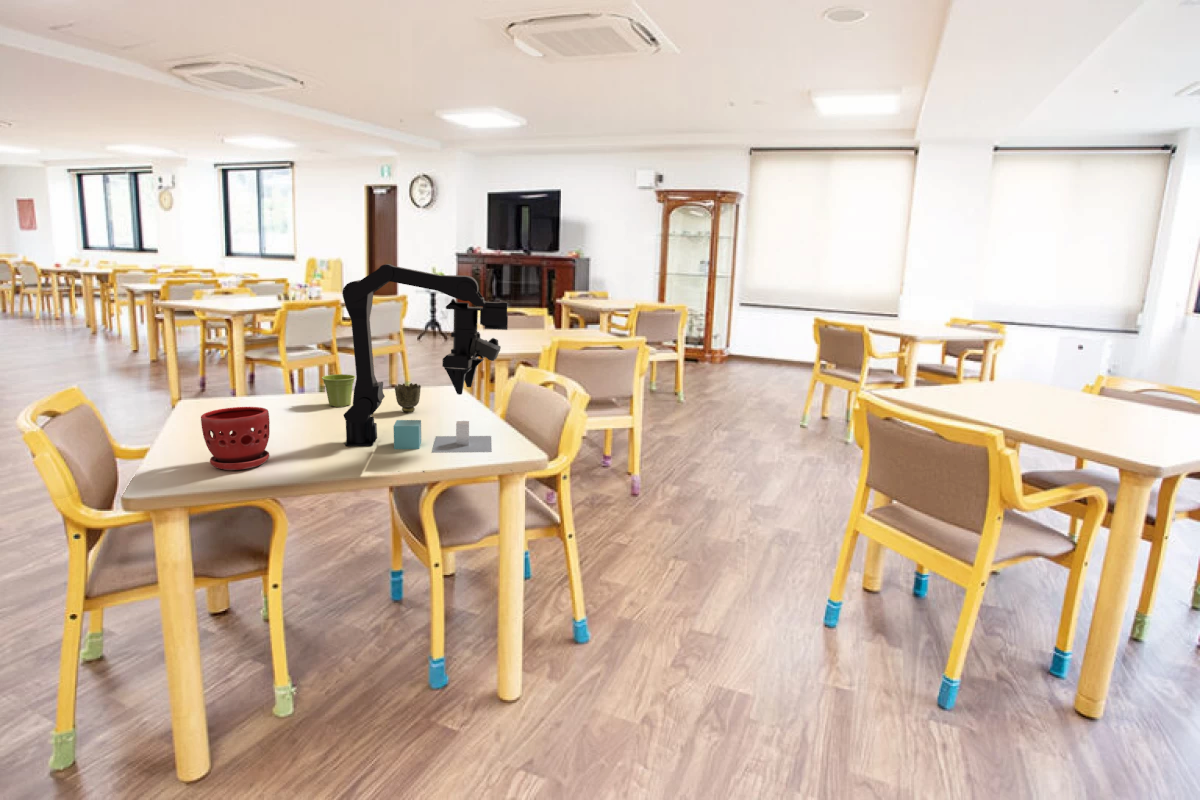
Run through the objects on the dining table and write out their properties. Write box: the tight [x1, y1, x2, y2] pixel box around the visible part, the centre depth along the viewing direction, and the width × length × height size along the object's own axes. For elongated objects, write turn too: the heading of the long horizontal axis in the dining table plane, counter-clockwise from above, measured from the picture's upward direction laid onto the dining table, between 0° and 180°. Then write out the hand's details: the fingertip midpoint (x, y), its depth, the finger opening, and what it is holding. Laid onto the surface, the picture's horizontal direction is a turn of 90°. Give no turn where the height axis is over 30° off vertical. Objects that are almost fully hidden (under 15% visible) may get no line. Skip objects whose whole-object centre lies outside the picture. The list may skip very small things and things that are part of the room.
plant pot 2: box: [321, 373, 356, 408], centre depth 207 cm, size 9×9×9 cm
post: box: [455, 420, 470, 446], centre depth 169 cm, size 3×3×5 cm
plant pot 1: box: [200, 406, 270, 471], centre depth 150 cm, size 13×13×12 cm
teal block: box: [393, 419, 422, 450], centre depth 166 cm, size 6×6×7 cm
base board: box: [431, 435, 493, 454], centre depth 170 cm, size 14×14×1 cm
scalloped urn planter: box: [393, 382, 422, 414], centre depth 202 cm, size 8×7×8 cm
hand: (464, 390), depth 171 cm, fingers open, 9 cm apart
